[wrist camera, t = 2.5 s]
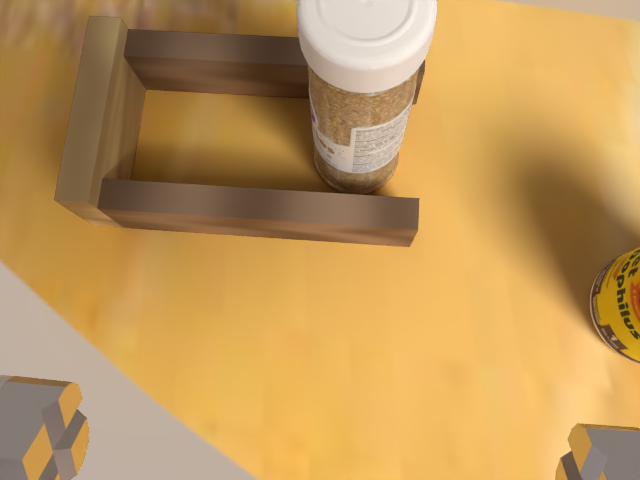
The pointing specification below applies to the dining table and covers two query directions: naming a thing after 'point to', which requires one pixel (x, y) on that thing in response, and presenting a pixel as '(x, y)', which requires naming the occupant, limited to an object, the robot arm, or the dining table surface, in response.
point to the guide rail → (192, 199)
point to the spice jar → (362, 83)
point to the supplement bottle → (619, 305)
